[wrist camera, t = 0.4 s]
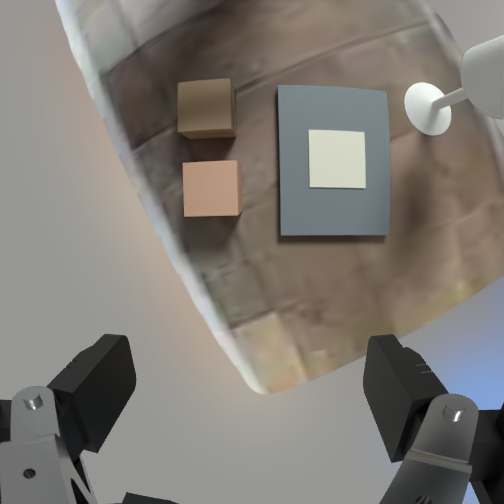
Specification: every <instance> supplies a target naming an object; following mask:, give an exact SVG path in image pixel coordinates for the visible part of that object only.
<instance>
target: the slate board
mask: <svg viewBox="0 0 504 504" xmlns="http://www.w3.org/2000/svg"><path fill="white" fill-rule="evenodd" d="M277 89H278V120H279V161H280V234H281V235H390V212H391V160H390V134H389V117H388V104H387V92H386V91H378V90H368V89H358V88H346V87H331V86H308V85H278V88H277Z"/></svg>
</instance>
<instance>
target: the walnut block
mask: <svg viewBox="0 0 504 504" xmlns="http://www.w3.org/2000/svg"><path fill="white" fill-rule="evenodd" d="M177 132H178V133H180V134H182V135H184V136H185V137H187V138H189V139H190V140H193V139H208V138H228V137H237V134H236V92H235V90H234V87H233V84H232V81H231V78H225V79H210V80H199V81H189V82H180V83H178V122H177Z"/></svg>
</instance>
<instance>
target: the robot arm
mask: <svg viewBox="0 0 504 504" xmlns="http://www.w3.org/2000/svg"><path fill="white" fill-rule="evenodd" d="M135 386H136V373H135V368H134V364H133V360H132V355H131V350H130V345H129V341H128V338H127V337H126V336H125V335H114V334H113V335H112V334H104V335H103V336H102V337H101V338H100V339H99V340H98V341H97V342H96V343H95V344H94V345H93V346H91V347H89V348H87V349H85V350H83V351H81V352H80V353H79V354H78V355H77V356H76V357H75V358H74V359H73V360H72V362H70V363H69V364H68V365H67V366H66V368H64V369H63V370H62V371H61V372H60V373H59V374H58V375H57V376H56V377H55V378H54V379H53V380H52V381H51V382H50V384H49V385H47V387H43V386H33V387H28V388H25V389H23V390H21V391H19V392H18V393H17V394H16V395H15V396H14V397H13V399H12V400H0V504H1V503H2V504H98V503H97V501H96V498H95V496H94V493H93V490H92V487H91V484H90V481H89V478H88V475H87V472H86V468H85V465H84V462H83V459H82V457H81V455H80V454H81V452H82V451H83V450H87V451H91V452H95V453H98V451H99V450H100V448H101V446H102V444H103V443H104V441H105V439H106V438H107V436H108V434H109V433H110V431H111V429H112V427H113V426H114V424H115V422H116V420H117V419H118V417H119V415H120V414H121V412H122V410H123V409H124V407H125V405H126V404H127V402H128V400H129V399H130V397H131V395H132V393H133V392H134V390H135ZM363 388H364V393H365V396H366V398H367V401H368V403H369V406H370V408H371V411H372V414H373V416H374V419H375V421H376V424H377V426H378V429H379V431H380V434H381V437H382V439H383V442H384V444H385V447H386V450H387V452H388V455H389V458H390V461H391V463H393V462H398V461H403V462H402V464H401V466H400V468H399V469H398V471H397V473H396V475H395V477H394V479H393V481H392V482H391V484H390V486H389V488H388V489H387V491H386V493H385V495H384V496H383V498H382V500H381V501H380V503H379V504H462V502H463V499H464V496H465V493H466V489H467V486H468V483H469V482H471V485H472V487H473V489H474V491H475V494H476V496H477V498H478V500H479V503H480V504H504V403H503V405H502V408H501V409H500V410H478V407H477V405H476V404H475V403H474V402H473V401H472V400H471V399H469V398H467V397H465V396H463V395H459V394H449V393H448V391H447V390H446V388H445V387H444V386H443V385H442V383H441V382H440V380H439V379H438V378H437V377H436V375H435V374H434V373H433V372H432V371H431V369H430V367H429V366H428V365H426V362H425V361H424V359H423V358H422V357H421V356H420V354H418V353H416V352H415V351H413V350H412V349H410V348H408V347H405V348H403V347H402V345H401V344H400V343H399V341H398V340H397V339H396V337H395V336H394V335H393V334H390V335H378V336H371V337H370V339H369V342H368V349H367V356H366V363H365V370H364V376H363ZM115 504H178V503H175V502H172V501H170V500H163V499H158V498H152V497H147V496H142V495H137V494H132V493H128V492H127V493H126V495H125V497H124V500H123V502H122V503H115Z"/></svg>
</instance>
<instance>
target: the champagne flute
mask: <svg viewBox="0 0 504 504" xmlns="http://www.w3.org/2000/svg"><path fill="white" fill-rule="evenodd" d="M460 77H461V83H462V88H460V89H458V90H456V91H454V92H451V93H449V94H447V95H445V96H444V94H443V93H442V92H441V91H440V90H439V89H438V88H436V87H435V86H433V85H431V84H428V83H417V84H414V85H412V86H411V87H410V88H409V89H408V91H407V92H406V95H405V101H404V104H405V110H406V114H407V116H408V118H409V120H410V121H411V123H412V124H413V125H414V126H415V127H416V128H417V129H418V130H419V131H421V132H423V133H424V134H427V135H433V136H434V135H439V134H442V133H443V132H445V131H446V129H447V128H448V127H449V125H450V121H451V109H450V105H452V104H455V103H457V102H460V101H462V100H465V99H469V100H470V101H471V103H472V104H473V105H474V106H475V107H476V108H477V109H478V110H480V111H481V112H483V113H484V114H486V115H488V116H490V117H492V118H495V119H504V35H503V36H500V37H497V38H495V39H492V40H490V41H487V42H485V43H482V44H479V45H477V46H474V47H472V48H471V49H469V50H468V51H467V52H466V53H465V54H464V56H463V58H462V61H461V67H460Z"/></svg>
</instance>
